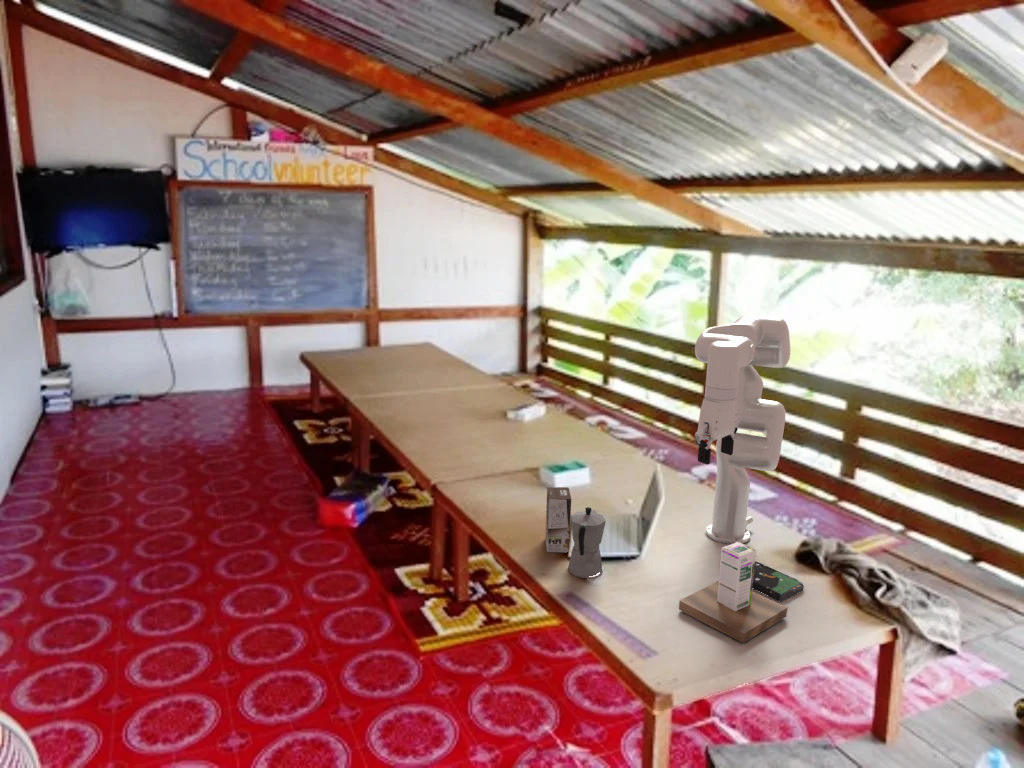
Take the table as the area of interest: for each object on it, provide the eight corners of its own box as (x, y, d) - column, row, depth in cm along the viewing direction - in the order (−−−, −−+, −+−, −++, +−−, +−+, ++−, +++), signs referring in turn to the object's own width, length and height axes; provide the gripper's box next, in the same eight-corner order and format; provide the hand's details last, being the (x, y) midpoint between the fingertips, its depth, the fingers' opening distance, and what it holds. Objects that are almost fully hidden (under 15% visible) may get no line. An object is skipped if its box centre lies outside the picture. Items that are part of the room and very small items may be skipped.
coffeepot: (573, 556, 214) (576, 496, 209) (607, 562, 211) (610, 500, 207) (560, 583, 199) (563, 518, 195) (596, 589, 197) (600, 523, 192)
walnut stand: (722, 588, 198) (723, 578, 198) (786, 618, 185) (787, 607, 184) (678, 611, 187) (679, 600, 186) (742, 645, 174) (744, 633, 173)
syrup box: (735, 612, 182) (741, 555, 178) (715, 601, 186) (721, 546, 183) (751, 605, 185) (757, 549, 181) (731, 594, 190) (737, 540, 186)
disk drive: (731, 581, 204) (780, 604, 193) (732, 571, 203) (781, 594, 192) (754, 569, 210) (804, 591, 199) (755, 560, 209) (805, 582, 198)
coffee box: (569, 553, 216) (571, 499, 212) (546, 552, 216) (548, 498, 212) (567, 538, 225) (569, 486, 221) (544, 538, 225) (546, 486, 221)
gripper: (728, 382, 196) (722, 446, 201) (686, 395, 185) (681, 462, 190) (754, 389, 191) (747, 454, 196) (713, 402, 180) (707, 471, 185)
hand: (715, 458), depth 193 cm, fingers open, 9 cm apart
